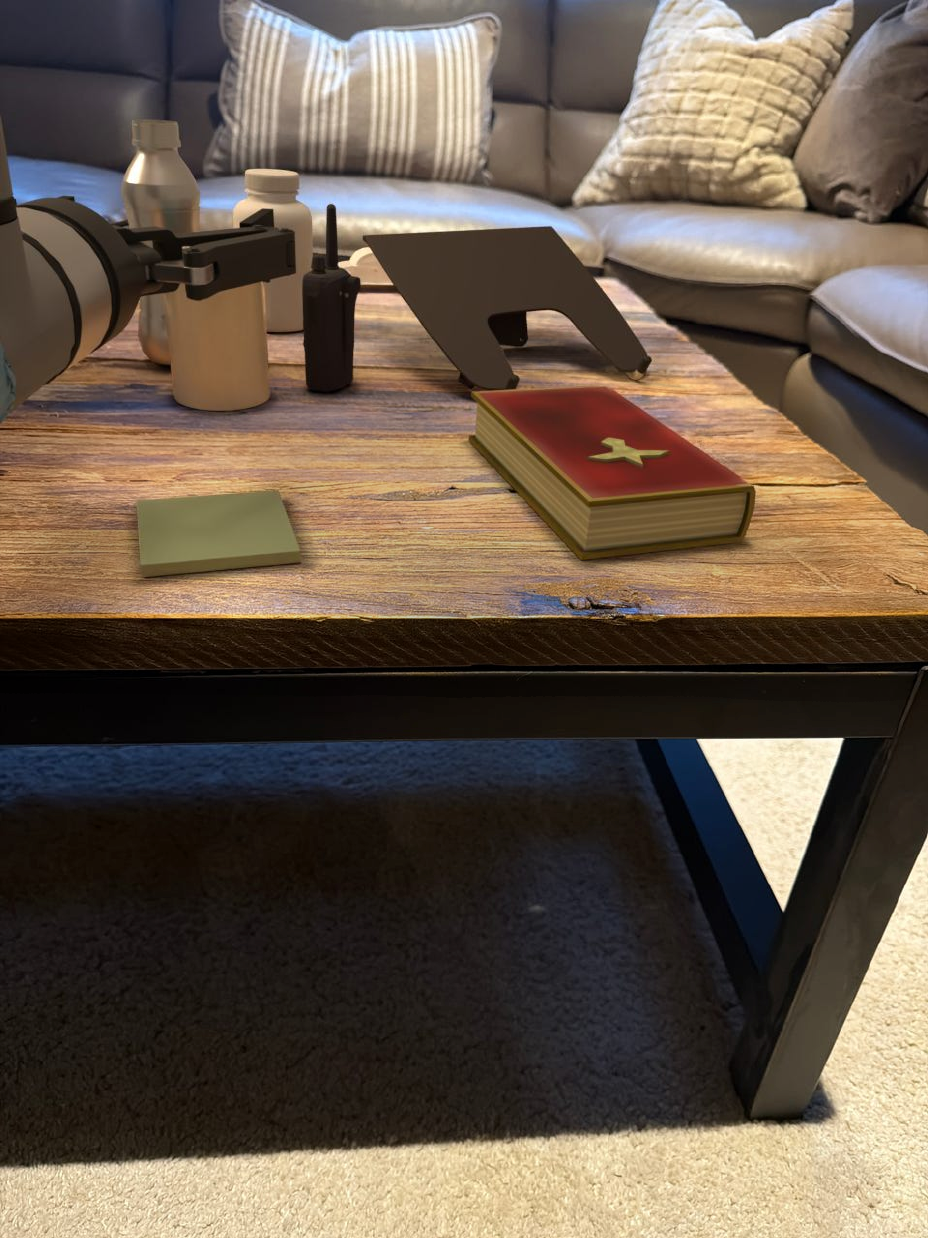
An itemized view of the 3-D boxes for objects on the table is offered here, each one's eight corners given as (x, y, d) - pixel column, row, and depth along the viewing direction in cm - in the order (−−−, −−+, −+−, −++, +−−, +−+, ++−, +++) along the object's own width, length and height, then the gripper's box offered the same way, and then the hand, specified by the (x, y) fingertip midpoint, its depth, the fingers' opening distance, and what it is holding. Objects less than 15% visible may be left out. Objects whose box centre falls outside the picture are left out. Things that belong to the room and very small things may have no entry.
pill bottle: (328, 322, 104) (326, 172, 96) (287, 338, 98) (281, 178, 90) (267, 311, 107) (261, 164, 99) (223, 326, 100) (212, 170, 93)
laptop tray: (451, 460, 87) (482, 385, 80) (346, 295, 96) (366, 214, 89) (637, 424, 99) (679, 356, 92) (528, 280, 108) (558, 207, 101)
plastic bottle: (230, 362, 90) (213, 124, 79) (173, 378, 85) (148, 126, 74) (183, 348, 92) (161, 117, 82) (126, 363, 88) (95, 118, 77)
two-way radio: (329, 375, 88) (326, 199, 80) (372, 383, 87) (373, 205, 79) (297, 391, 84) (291, 206, 76) (342, 399, 82) (341, 213, 74)
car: (408, 281, 124) (410, 243, 122) (421, 292, 119) (422, 253, 117) (317, 282, 121) (316, 243, 118) (326, 293, 116) (325, 253, 113)
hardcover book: (603, 430, 79) (610, 380, 77) (746, 541, 62) (760, 481, 60) (468, 440, 76) (471, 387, 73) (581, 560, 59) (589, 497, 57)
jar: (171, 383, 83) (156, 244, 78) (263, 379, 86) (256, 244, 80) (176, 413, 77) (161, 264, 71) (276, 408, 79) (269, 264, 73)
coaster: (137, 511, 61) (136, 500, 61) (278, 501, 64) (278, 489, 63) (142, 577, 54) (140, 565, 53) (301, 562, 56) (300, 550, 56)
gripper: (-188, 348, 49) (0, 268, 67) (294, 379, 49) (351, 291, 67) (-235, 189, 45) (-22, 151, 64) (288, 222, 45) (350, 174, 63)
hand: (170, 223), depth 65 cm, fingers open, 13 cm apart
